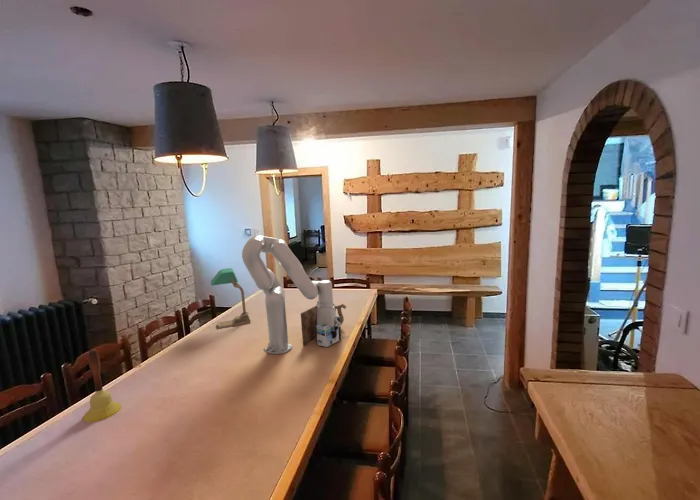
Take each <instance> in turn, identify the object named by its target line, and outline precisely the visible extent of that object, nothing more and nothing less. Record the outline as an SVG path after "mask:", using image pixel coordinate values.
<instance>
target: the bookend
mask: <svg viewBox="0 0 700 500" xmlns="http://www.w3.org/2000/svg"><path fill="white" fill-rule="evenodd" d="M336 317H337V320H338V321H339V322H340V317H339V315H338V316H337V315H336ZM341 326H342V325H340V327H339V341H342V328H341Z"/></svg>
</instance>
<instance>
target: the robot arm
mask: <svg viewBox="0 0 700 500" xmlns="http://www.w3.org/2000/svg"><path fill="white" fill-rule="evenodd" d="M261 253H264V254H265V253H266V254H269V255H270V254H271V255H272V256H273V257H274V258H275V260H276V261H277V262H278V264H279V265H280V266H281V267H282V269H283V270H284V271H285V272H286V274H287V276H288V277H289V278H290V280H291V281H292V282H293V284H294V285H295V286H296V288H297V289H298V291H300V293H301V294H302V295H303V296H304V297H305V298H306V299H308V300H315V299H316V298H317V297H318V301H316V303H317V304H319V306H318V308H317V319H315V320H314V322H315V324H316V325H318V324H322V325H327V326H329V327H331V328H332V330H333V331H332V338H333V339H334V338H336V337H337V329H338V328H339V327H340V325H341V323H340V322H339V321H338V320H337V317H336V316H337V313H336V312H337V310H336V311H335V307H334V306H335V305H334V306H333V303H334V297H333V296H334V295H333V293H334V292H333V284H332V281H331V280H328V279H324V280H311V279H310V277H309V276H308V274H307V273H306V271H305V269H304V267H303V265H302V263H301V262H300V260H299V259H298V257H297V256H296V255H295V254H294V253H293V252H292V250H291V248H290V247H289V246H288V244H287V241H285V240H284V239H281V238H275V237H269V236H264V235H258V234H257V235H252V236H251V237H250V238H249V239H247V241H246V242H245V244H244V246H243V248H242V251H241V259H242V263H244V265H245V268H246V269H247V271H248V273H249V274H250V277H251V278H252V280H253V281H254V284H255V286H256V287H257V288H258V289H259V290H260V291H263V293H264V294H265V311H266V318H267V331H268V342H269V343H268V344H267V345H268V346H267V347H264V348H263V352H264V353H269V354H270V355H271V354H272V355H280V354H281V355H282V354H286V353H288V352H290V351H291V350H292V344H291V343H290V342H289V336H288V321H287V311H286V310H287V309H286V293H285V290H284V288H283V286H282V285H281V283H280V281H279V279H278V277H277V276H276V274H275V272H273V271H272V270H271V269H270V268H268V267H267V266H266V264H265V262H264V260H263V259H262V257H261ZM317 304H316V305H317ZM336 324H337V326H336ZM341 326H342V325H341Z"/></svg>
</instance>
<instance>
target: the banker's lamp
mask: <svg viewBox="0 0 700 500" xmlns="http://www.w3.org/2000/svg"><path fill="white" fill-rule="evenodd" d="M227 284H232V285H233V287H234V288H236V289H237V288H238V289H239V290H240V294H241V304H242V305H241V306H242V313H240V315H237V316H235V317H234V318H232V319H231V320H227V321H217V327H218V329H224V328H230V327H235V326H242V325H247V324H252V323H251V319H250V317H249V312H247V311H246V302H245V292H244V288H243V287H242V286H241V285H240V284H239V280H238V278H237V276H236V274H235V272H234V269H233V268H232V267H228V268H222V269H220V270H219V271H218V272H217V273H216V274H215V275H214V277H213V278H212V279H211V280H210V286H218V285H227Z"/></svg>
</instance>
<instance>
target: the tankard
mask: <svg viewBox="0 0 700 500" xmlns="http://www.w3.org/2000/svg"><path fill="white" fill-rule="evenodd" d="M316 305H318V306H319V304H316ZM333 306H334V307H335V311H336V312H337V314H338V317H340V323H341V326H342V325H343V323H344V321H345V320H344V315H343V311H342V309H344V310H345V309H346V308H347V305H345V304H344V303H341V304H339V305H335V304H334V302H333Z"/></svg>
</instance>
